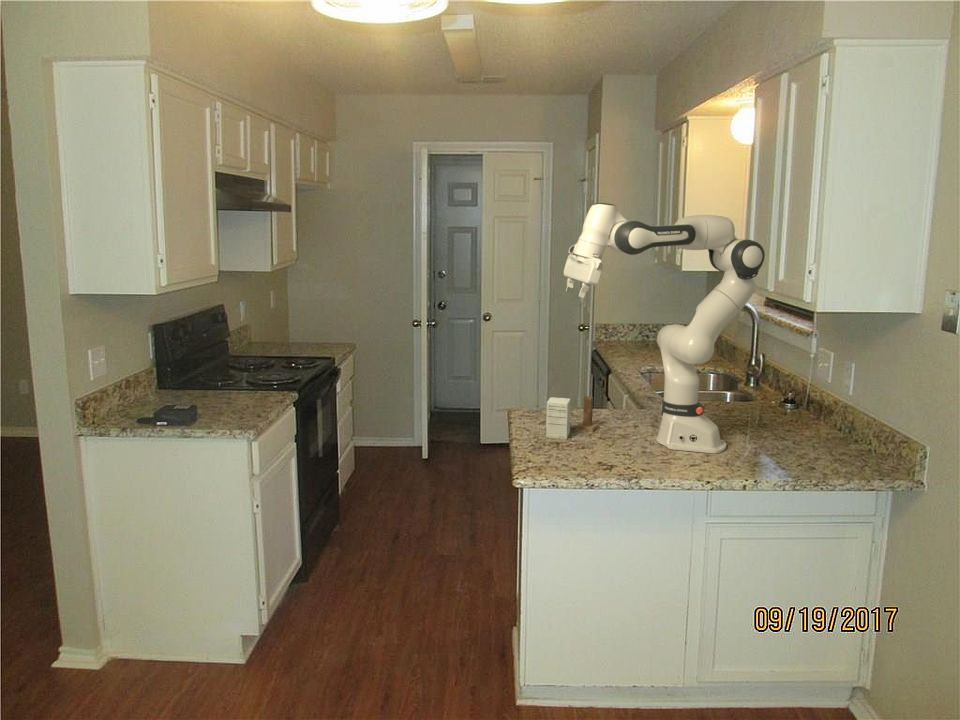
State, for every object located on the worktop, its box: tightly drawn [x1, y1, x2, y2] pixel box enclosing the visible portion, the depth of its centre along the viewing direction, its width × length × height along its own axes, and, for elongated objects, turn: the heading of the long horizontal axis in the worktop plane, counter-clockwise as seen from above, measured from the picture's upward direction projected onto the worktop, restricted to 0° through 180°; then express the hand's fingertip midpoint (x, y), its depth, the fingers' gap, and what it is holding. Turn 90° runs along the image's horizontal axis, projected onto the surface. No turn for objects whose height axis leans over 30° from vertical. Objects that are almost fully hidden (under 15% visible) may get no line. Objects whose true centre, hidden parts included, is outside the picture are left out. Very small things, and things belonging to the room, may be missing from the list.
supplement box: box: [545, 396, 572, 440], centre depth 256 cm, size 7×7×13 cm
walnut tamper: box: [576, 395, 599, 433], centre depth 265 cm, size 6×6×12 cm
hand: (574, 294), depth 237 cm, fingers open, 8 cm apart
